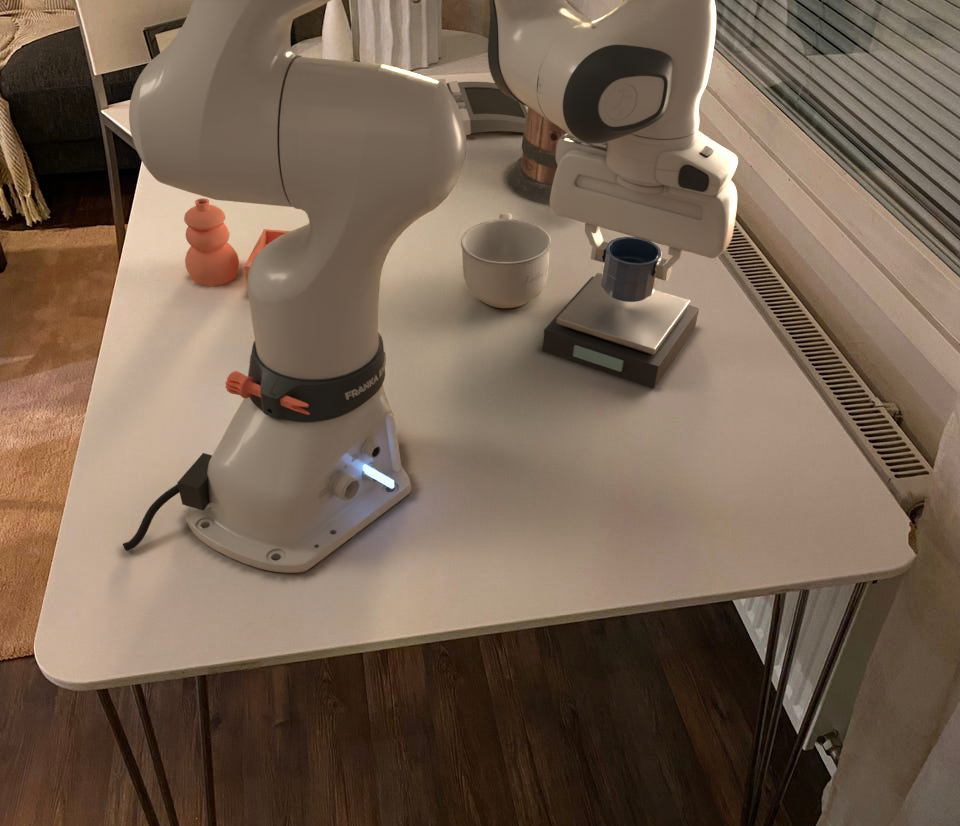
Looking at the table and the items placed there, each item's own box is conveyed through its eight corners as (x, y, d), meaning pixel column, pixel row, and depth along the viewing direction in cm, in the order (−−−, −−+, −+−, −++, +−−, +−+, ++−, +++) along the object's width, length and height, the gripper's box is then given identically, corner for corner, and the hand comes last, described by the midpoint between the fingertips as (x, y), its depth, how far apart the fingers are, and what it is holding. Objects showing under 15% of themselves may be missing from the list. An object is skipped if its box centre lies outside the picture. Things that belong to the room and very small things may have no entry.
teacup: (538, 324, 117) (543, 265, 112) (451, 311, 118) (452, 253, 113) (554, 268, 127) (560, 211, 122) (474, 257, 129) (476, 200, 123)
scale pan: (653, 355, 107) (655, 349, 107) (555, 324, 111) (556, 318, 110) (689, 305, 115) (690, 300, 114) (596, 278, 119) (597, 272, 118)
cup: (642, 309, 108) (650, 270, 105) (592, 294, 110) (597, 255, 107) (661, 284, 112) (669, 246, 109) (612, 270, 114) (618, 231, 111)
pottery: (336, 264, 126) (331, 192, 119) (320, 302, 119) (314, 229, 112) (200, 253, 127) (187, 181, 120) (177, 290, 120) (162, 217, 113)
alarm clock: (437, 79, 166) (531, 70, 167) (439, 106, 169) (531, 97, 171) (449, 119, 154) (550, 109, 155) (451, 147, 157) (550, 137, 158)
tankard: (498, 158, 152) (505, 22, 138) (602, 155, 154) (619, 22, 140) (524, 229, 135) (536, 83, 121) (641, 225, 137) (665, 81, 123)
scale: (653, 389, 108) (657, 367, 106) (540, 352, 113) (542, 330, 111) (694, 329, 118) (699, 308, 116) (589, 297, 122) (592, 276, 120)
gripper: (546, 136, 101) (535, 255, 110) (735, 185, 94) (707, 306, 104) (570, 116, 105) (558, 232, 114) (753, 161, 99) (724, 280, 108)
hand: (630, 268), depth 109 cm, fingers closed on cup, 6 cm apart
